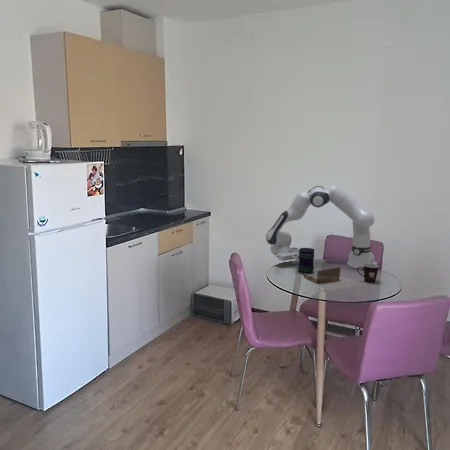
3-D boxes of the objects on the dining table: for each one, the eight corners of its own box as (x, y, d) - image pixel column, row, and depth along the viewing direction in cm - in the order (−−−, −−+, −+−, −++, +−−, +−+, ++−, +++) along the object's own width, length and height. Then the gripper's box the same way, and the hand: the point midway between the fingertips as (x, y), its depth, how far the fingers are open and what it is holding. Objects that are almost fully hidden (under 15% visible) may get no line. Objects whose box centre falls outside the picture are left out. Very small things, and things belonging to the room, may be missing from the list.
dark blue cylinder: (306, 275, 282) (307, 252, 279) (294, 271, 290) (295, 249, 287) (316, 272, 289) (317, 249, 286) (304, 268, 296) (305, 246, 293)
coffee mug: (378, 280, 273) (380, 264, 271) (375, 284, 266) (376, 268, 264) (359, 277, 279) (361, 261, 277) (355, 281, 272) (356, 265, 270)
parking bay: (303, 277, 278) (304, 264, 277) (324, 273, 286) (324, 261, 284) (318, 284, 266) (318, 271, 264) (339, 280, 273) (340, 267, 272)
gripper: (274, 250, 302) (285, 255, 290) (298, 247, 311) (311, 252, 299) (273, 259, 303) (285, 265, 291) (298, 256, 312) (310, 261, 300)
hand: (298, 258), depth 295 cm, fingers closed
